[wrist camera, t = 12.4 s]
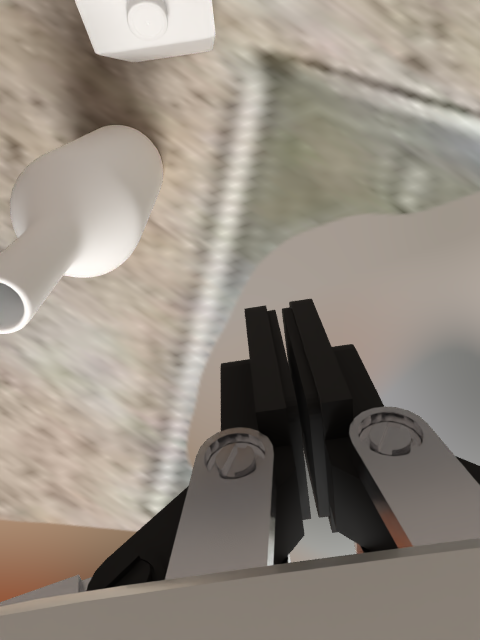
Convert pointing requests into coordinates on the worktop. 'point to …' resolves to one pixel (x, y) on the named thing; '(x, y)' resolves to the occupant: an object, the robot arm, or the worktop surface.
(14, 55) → the worktop surface
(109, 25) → the milk carton
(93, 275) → the bottle
